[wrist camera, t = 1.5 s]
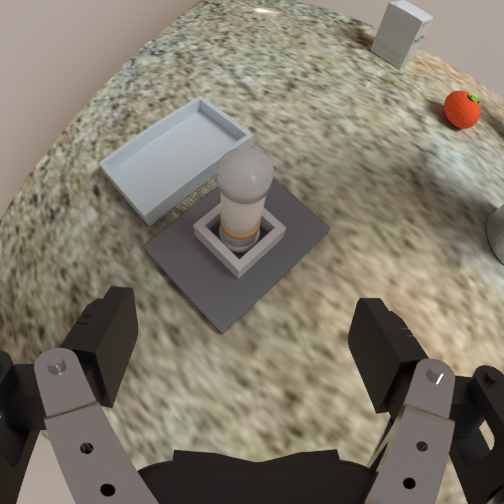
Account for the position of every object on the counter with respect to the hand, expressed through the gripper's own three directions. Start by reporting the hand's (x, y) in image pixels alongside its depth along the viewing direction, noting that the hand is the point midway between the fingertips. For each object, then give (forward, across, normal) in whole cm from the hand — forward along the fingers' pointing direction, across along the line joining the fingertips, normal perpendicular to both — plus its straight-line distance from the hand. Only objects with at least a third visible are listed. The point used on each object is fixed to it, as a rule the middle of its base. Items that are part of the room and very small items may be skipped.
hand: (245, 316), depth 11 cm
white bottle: (+22, 0, +5) cm, 23 cm away
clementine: (+41, -38, -12) cm, 57 cm away
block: (+23, 0, +6) cm, 24 cm away
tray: (+30, +8, -1) cm, 31 cm away
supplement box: (+53, -29, -24) cm, 65 cm away
